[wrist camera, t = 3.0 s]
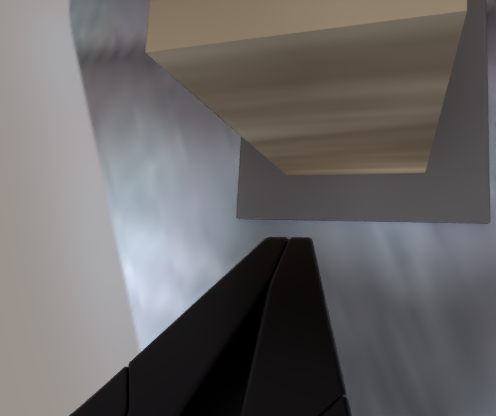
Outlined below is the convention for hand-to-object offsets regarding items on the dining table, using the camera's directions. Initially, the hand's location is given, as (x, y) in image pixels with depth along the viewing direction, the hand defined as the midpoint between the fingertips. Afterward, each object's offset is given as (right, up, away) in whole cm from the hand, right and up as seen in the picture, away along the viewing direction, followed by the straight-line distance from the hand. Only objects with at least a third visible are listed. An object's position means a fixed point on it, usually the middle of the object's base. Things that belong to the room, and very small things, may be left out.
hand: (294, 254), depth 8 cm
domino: (+3, +3, +8) cm, 9 cm away
